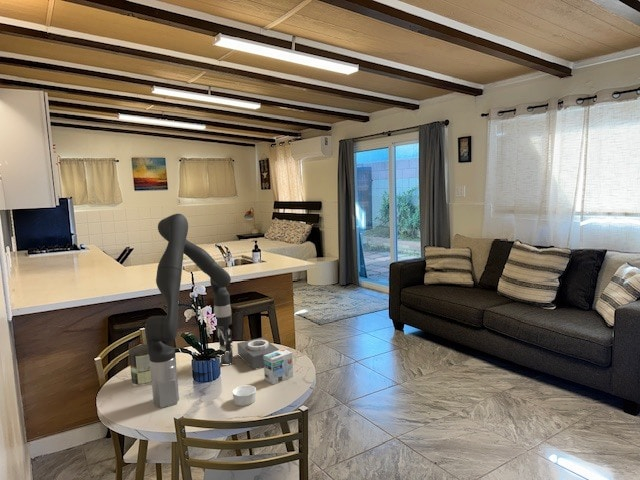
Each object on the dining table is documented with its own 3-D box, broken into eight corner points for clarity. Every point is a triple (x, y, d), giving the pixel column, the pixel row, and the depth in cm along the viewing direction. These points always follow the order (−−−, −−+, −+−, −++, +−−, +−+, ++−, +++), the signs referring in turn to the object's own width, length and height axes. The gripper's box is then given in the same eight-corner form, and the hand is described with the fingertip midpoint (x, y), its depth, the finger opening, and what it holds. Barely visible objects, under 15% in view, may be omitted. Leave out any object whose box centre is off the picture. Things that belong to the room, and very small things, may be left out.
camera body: (280, 362, 197) (279, 346, 196) (254, 369, 190) (253, 353, 189) (263, 349, 214) (262, 334, 213) (238, 355, 207) (237, 340, 206)
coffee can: (126, 385, 179) (123, 353, 177) (140, 375, 189) (137, 344, 187) (149, 386, 178) (146, 353, 176) (162, 375, 188) (159, 344, 186)
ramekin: (235, 395, 167) (235, 385, 167) (258, 395, 167) (257, 384, 167) (230, 407, 159) (229, 396, 158) (254, 406, 158) (253, 395, 158)
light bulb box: (273, 385, 175) (271, 359, 174) (263, 379, 180) (262, 355, 179) (294, 376, 182) (293, 352, 181) (284, 371, 187) (283, 348, 186)
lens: (235, 363, 197) (234, 347, 196) (222, 366, 194) (221, 349, 193) (231, 359, 202) (229, 343, 201) (218, 362, 199) (217, 345, 198)
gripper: (236, 316, 192) (238, 351, 194) (225, 308, 204) (227, 341, 206) (220, 319, 188) (222, 355, 190) (209, 311, 200) (212, 345, 202)
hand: (225, 348), depth 198 cm, fingers open, 8 cm apart
